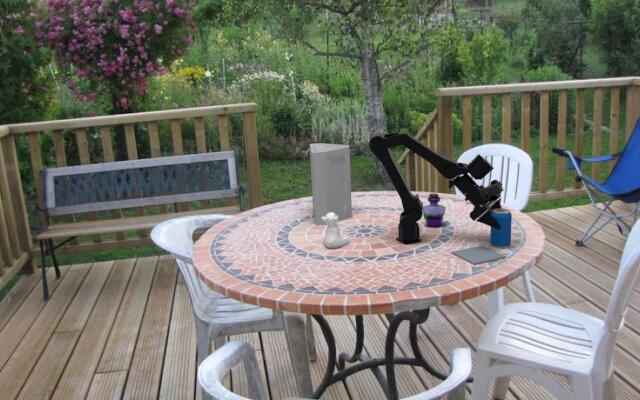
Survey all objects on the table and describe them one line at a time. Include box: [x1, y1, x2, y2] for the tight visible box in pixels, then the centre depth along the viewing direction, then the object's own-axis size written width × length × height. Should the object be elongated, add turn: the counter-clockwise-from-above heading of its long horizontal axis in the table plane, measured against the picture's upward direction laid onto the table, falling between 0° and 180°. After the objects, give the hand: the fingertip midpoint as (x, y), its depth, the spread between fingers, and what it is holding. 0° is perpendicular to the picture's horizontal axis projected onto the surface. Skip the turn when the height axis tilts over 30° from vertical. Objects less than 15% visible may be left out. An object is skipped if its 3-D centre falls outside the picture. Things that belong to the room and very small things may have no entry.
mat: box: [450, 244, 507, 266], centre depth 202 cm, size 12×12×1 cm
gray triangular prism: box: [309, 142, 353, 226], centre depth 247 cm, size 19×15×28 cm
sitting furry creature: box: [322, 212, 351, 249], centre depth 217 cm, size 10×9×12 cm
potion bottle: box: [422, 193, 447, 229], centre depth 233 cm, size 9×9×12 cm
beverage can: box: [490, 207, 513, 249], centre depth 209 cm, size 6×6×12 cm
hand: (503, 224), depth 208 cm, fingers open, 9 cm apart
